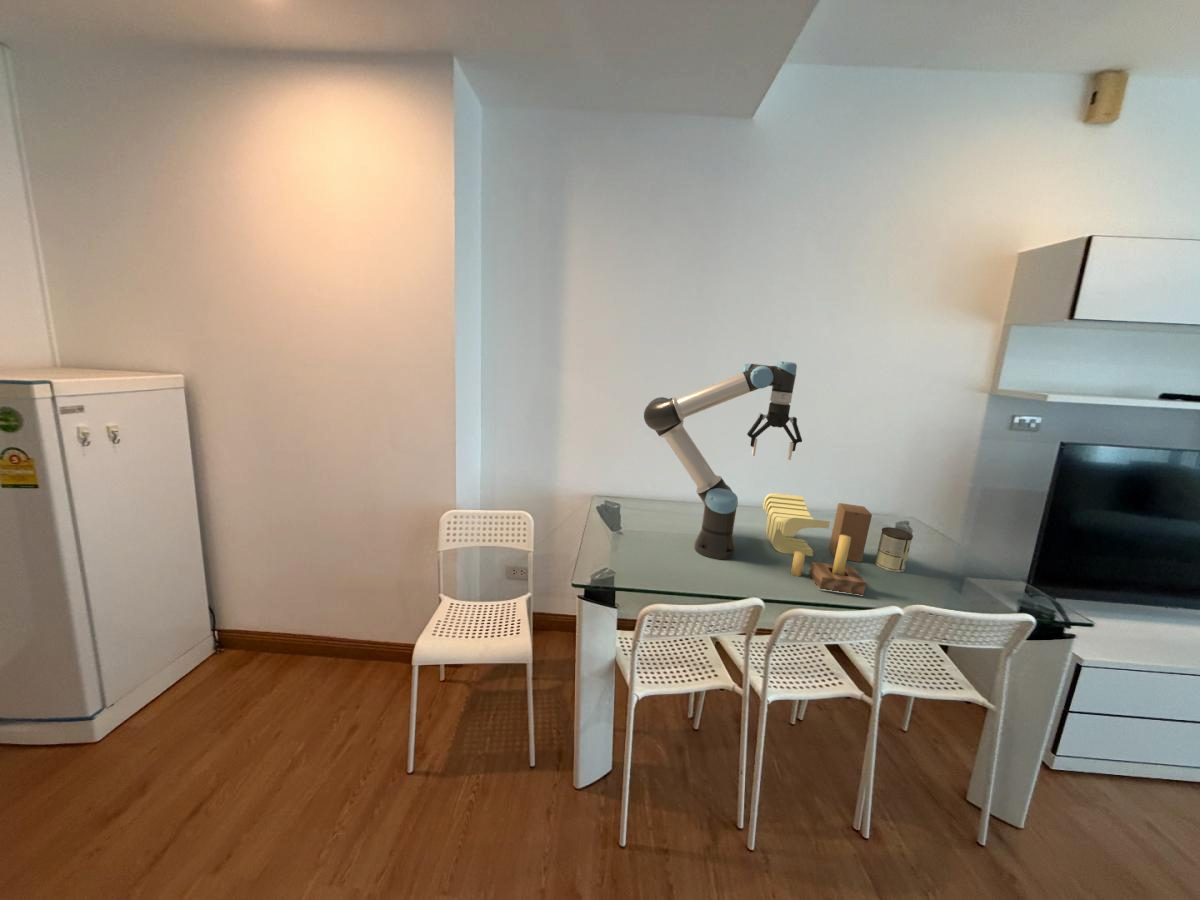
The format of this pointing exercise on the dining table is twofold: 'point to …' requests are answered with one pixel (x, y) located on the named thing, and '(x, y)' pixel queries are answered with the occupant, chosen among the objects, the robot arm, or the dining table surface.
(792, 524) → the slatted curved stool
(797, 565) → the short pin
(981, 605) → the dining table surface
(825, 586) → the hole block
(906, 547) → the coffee can
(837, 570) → the long pin
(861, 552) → the wooden block
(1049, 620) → the dining table surface
